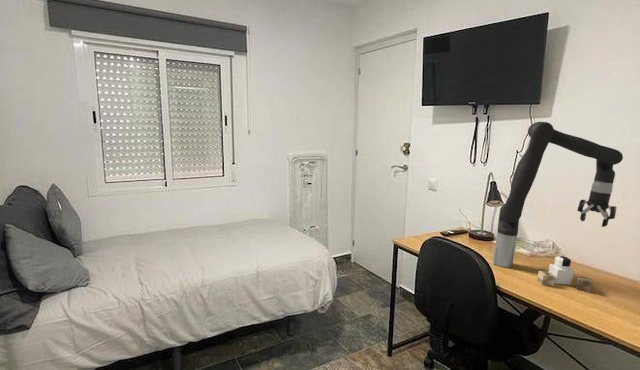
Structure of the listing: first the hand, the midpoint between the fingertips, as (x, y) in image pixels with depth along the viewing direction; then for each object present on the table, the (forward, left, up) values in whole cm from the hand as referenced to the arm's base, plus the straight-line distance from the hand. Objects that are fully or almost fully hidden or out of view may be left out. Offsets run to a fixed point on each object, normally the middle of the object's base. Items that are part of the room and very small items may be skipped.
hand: (592, 223), depth 163 cm
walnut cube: (-5, -17, -28) cm, 33 cm away
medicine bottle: (-13, -12, -28) cm, 33 cm away
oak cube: (-20, -18, -28) cm, 38 cm away
